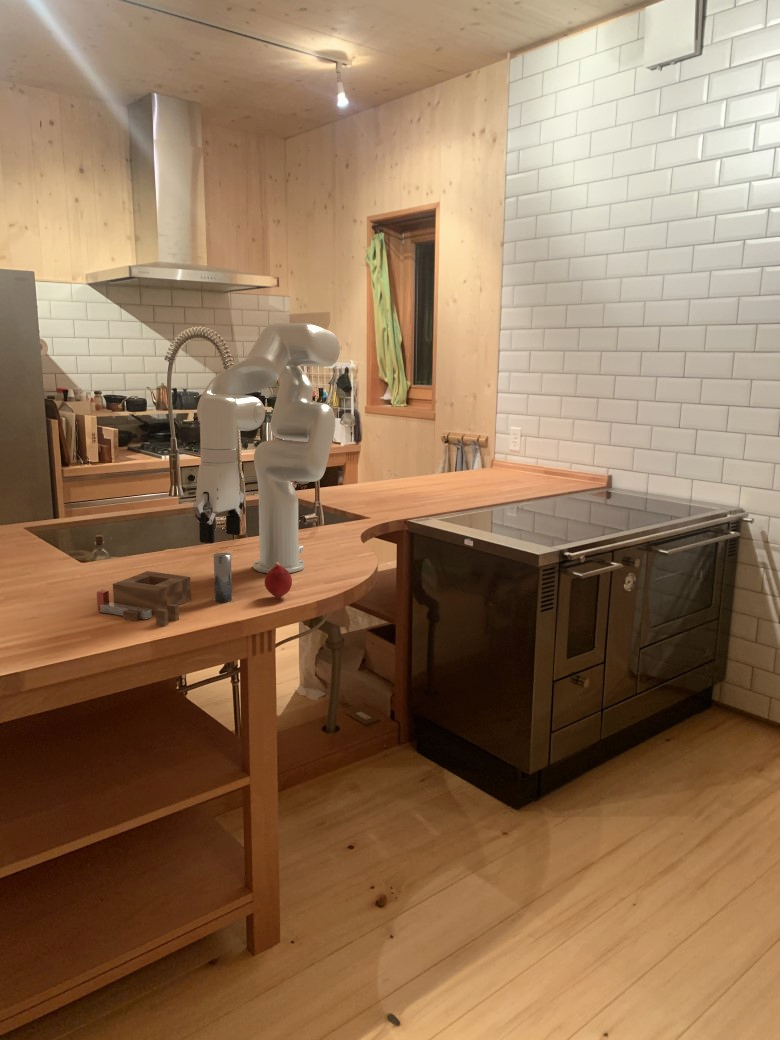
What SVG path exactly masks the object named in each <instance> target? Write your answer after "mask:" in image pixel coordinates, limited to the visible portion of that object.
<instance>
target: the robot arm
mask: <svg viewBox="0 0 780 1040" xmlns="http://www.w3.org/2000/svg"><path fill="white" fill-rule="evenodd" d="M340 352H341V346H340V342H339V339H338V337H337V335H336V334H335V333H334V332H332V331H330V330H328V329H326V328H323V327H322V326H318V325H315V324H312V323H306V322H299V323H298V322H277V323H276V322H275V323H271V324H268V325H267V326H265V328H264V329H262V331H261V333H260V334H259V336H258V338H257V339H256V341H255V343H254V344H253V346H252V348H251V349H250V351H249V353H248V354H247V356H246V358H245V359H244V360H242V361H240V362H238V363H235V364H234V365H232V366H230V367H229V368H226V369H225V370H223V371H222V372H220V373H219V374H217V375H216V376H215V377H213V379H212V380H210V382H208V384H207V386H206V387H205V388H204V391H203V392H202V394H201V396H200V398H199V400H198V403H197V408H196V414H197V419H198V421H199V437H200V442H199V443H200V444H199V445H200V447H199V448H200V464H199V466H198V472H197V478H196V479H197V480H196V494H195V495H196V497H195V502H194V503H193V505H192V508H193V511H194V515H195V518H196V519H197V523H198V524H199V527H198V528H199V542H200V543H202V544H214V543H215V524H214V523H213V522H214V519H215V516H216V515H217V514H223V513H225V512H226V514H227V515H225V532H226V535H234V536H240V535H241V516H242V510H243V507H244V504H243V503H244V499H245V493H244V492H242V491H241V480H240V470H239V438H238V437H239V435H238V434H239V431H242V432H243V431H245V432H249V431H254V430H257V429H258V428H260V427H261V426H262V424H263V423H264V421H265V418H266V409H265V408H266V407H265V406H264V404H263V402H262V401H261V400H260V399H259V398H258V397H255V396H253V395H248V394H252V393H257V392H260V391H262V390H266V389H268V388H270V387H273V386H274V385H275V384H277V382H278V380H279V386H278V387H279V388H278V392H277V396H276V399H275V403H274V407H273V410H272V415H271V418H270V425H269V426H270V427H269V429H270V432H271V433H272V435H273V436H274V437H275V438H278V439H270V440H269V439H268V440H265V441H263V442H261V443H259V444H257V446H256V448H255V450H254V451H253V452H254V453H253V464H254V470H255V473H256V474H255V475H256V479H257V488H258V491H257V492H258V517H259V518H258V523H259V524H258V525H259V526H258V527H259V529H258V530H259V531H258V534H259V535H258V536H259V543H258V544H259V559H257V560H256V561H254V562H253V569H254V570H255V571H256V572H259V573H262V574H263V573H264V574H267V573H268V572H269V571H270V570H271V569H272V568H273V567H275V563H276V562H278V563H279V564H280V565H281V566H282V567H284V568H285V569H286V570H287V571H288V572H289V573H290V574H291V573H297V572H300V571H302V570H303V569H304V568H305V564H306V563H305V561H304V560H303V559H301V558H299V556H300V554H301V553H304V551H305V548H304V547H305V546H303V545H302V544H299V497H298V493H297V491H296V489H295V487H294V486H293V484H292V482H291V481H294V482H295V481H296V482H309V483H310V482H313V483H314V482H318V481H320V480H321V479H322V478H323V476H324V475H325V472H326V469H327V465H328V461H329V457H330V453H331V450H332V449H331V448H332V444H333V440H334V437H335V436H334V435H335V430H336V416H335V411H334V410H333V408H332V407H331V406H330V405H329V404H327V403H325V402H316V401H314V402H312V399H313V396H314V387H313V383H312V382H311V380H310V378H309V377H308V376H307V375H306V373H305V371H303V368H302V367H331V366H333V365H335V364H336V363H337V361H338V360H339V357H340ZM207 514H208V515H207Z"/></svg>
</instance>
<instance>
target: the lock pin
mask: <svg viewBox="0 0 780 1040" xmlns="http://www.w3.org/2000/svg"><path fill="white" fill-rule="evenodd" d="M96 600H97V601H96V602H97V612H100V613H103V614H110V615H111V614H112V615H117V616H122V617H123V611H125V610H128V611H134V612H138V619H141V620H147V619H150V618H153V617H152V616H153V615H152V613H151V609H148V608H142V607H135V606H129V605H123V604H116V603H114V602H110V593H109V590H106V589H101V590H98V591H96Z"/></svg>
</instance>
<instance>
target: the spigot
mask: <svg viewBox="0 0 780 1040" xmlns="http://www.w3.org/2000/svg"><path fill="white" fill-rule="evenodd" d="M213 575H214V576H213V578H214V579H213V581H214V584H213V585H214V602H216V603H219V604H220V603H221V604H223V603H229V602H232V601H233V588H232V587H233V584H232V582H233V579H232V576H233V575H232V553H229V552H216V553H214V554H213Z"/></svg>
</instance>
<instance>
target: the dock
mask: <svg viewBox="0 0 780 1040" xmlns="http://www.w3.org/2000/svg"><path fill="white" fill-rule="evenodd" d="M191 592H192V588H191V576H188V575H187V576H185V575H180V574H172V573H166V572H165V573H163V572H157V571H150V570H149V571H148V570H147V571H144V572H141V573H139V574H136V575H133V576H131V577H128V578H126V579H123V580H120V581H117V582H115V583H114V582H113V584H112V594H113V603H116V604H123V605H129V606H135V607H142V608H148V609H151V614H153V615H155V624H156V626H161V627H166V626H168V625H169V621H173V622H174V621H175V622H176V621H179V620H180V613H179V609H180V608H179V605H182V604H184V603H186V602H188V601H191V600H192V596H191V595H192V593H191ZM122 617H123V620H128V621H134V622H136V621H139V618H138V612H134V611H128V610H125V611H123V616H122Z"/></svg>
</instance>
